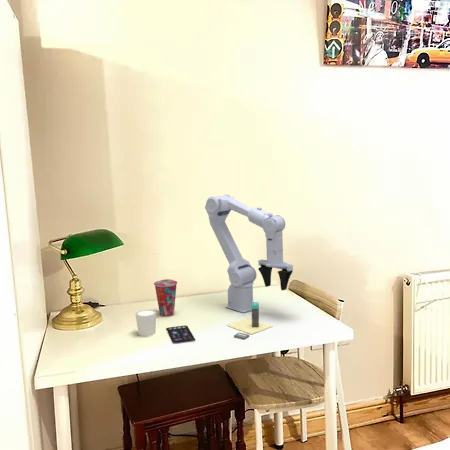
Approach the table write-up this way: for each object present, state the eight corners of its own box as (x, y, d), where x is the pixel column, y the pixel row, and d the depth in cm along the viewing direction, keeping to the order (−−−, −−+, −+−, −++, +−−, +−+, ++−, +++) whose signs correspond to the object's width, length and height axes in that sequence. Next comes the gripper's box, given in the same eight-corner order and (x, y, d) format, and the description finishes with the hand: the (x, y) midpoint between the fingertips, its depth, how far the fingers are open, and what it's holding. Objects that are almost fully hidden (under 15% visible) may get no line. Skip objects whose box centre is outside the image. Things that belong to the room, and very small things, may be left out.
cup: (181, 315, 184) (180, 283, 182) (159, 319, 180) (158, 287, 179) (173, 308, 192) (171, 278, 190) (151, 312, 189) (150, 281, 187)
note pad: (226, 325, 173) (226, 324, 173) (247, 318, 179) (247, 317, 179) (251, 334, 164) (251, 333, 164) (272, 326, 171) (272, 326, 171)
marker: (249, 326, 171) (249, 303, 170) (255, 324, 173) (255, 301, 171) (255, 328, 169) (255, 305, 168) (260, 326, 171) (260, 303, 169)
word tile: (233, 337, 162) (233, 335, 162) (238, 334, 165) (238, 332, 165) (244, 339, 160) (244, 337, 160) (249, 336, 163) (249, 334, 162)
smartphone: (187, 324, 174) (196, 340, 160) (187, 326, 174) (196, 342, 160) (165, 327, 172) (172, 343, 158) (165, 329, 172) (172, 345, 158)
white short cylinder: (134, 331, 169) (133, 311, 168) (154, 328, 172) (153, 308, 171) (139, 338, 163) (138, 317, 162) (159, 334, 166) (158, 314, 165)
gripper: (251, 249, 180) (253, 286, 182) (282, 254, 170) (283, 293, 172) (265, 246, 185) (266, 282, 187) (296, 251, 175) (297, 289, 176)
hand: (275, 287), depth 180 cm, fingers open, 7 cm apart
